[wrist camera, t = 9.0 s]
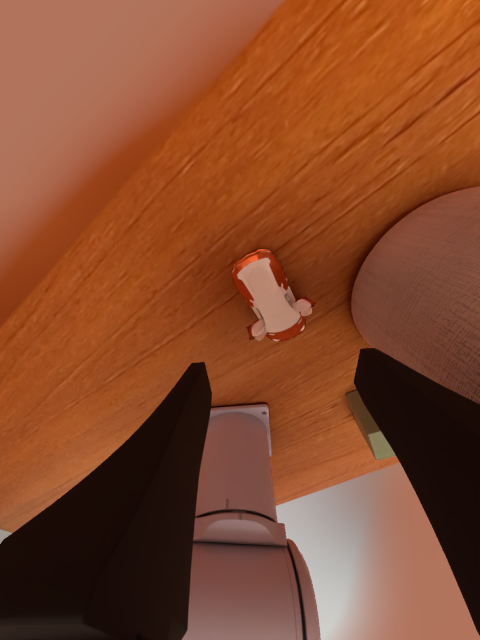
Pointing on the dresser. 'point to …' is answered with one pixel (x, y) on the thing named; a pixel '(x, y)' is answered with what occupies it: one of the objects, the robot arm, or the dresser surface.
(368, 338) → the planter
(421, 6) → the dresser surface
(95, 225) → the dresser surface
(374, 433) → the sage block
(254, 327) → the toy car
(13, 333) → the dresser surface
